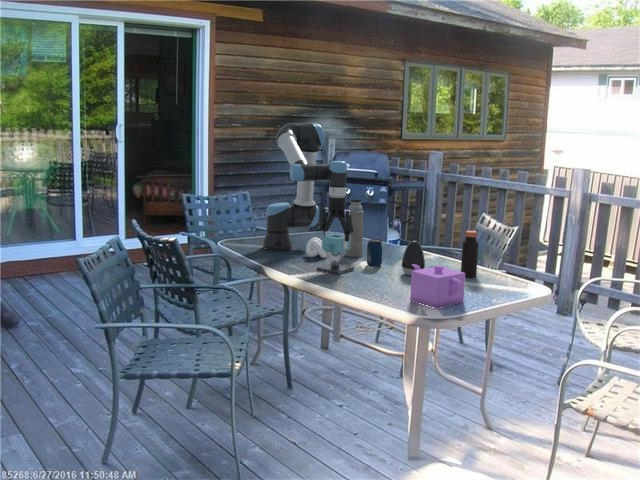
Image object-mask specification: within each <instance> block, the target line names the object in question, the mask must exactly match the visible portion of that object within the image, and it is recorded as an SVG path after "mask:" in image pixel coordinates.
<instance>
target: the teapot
mask: <svg viewBox="0 0 640 480" xmlns="http://www.w3.org/2000/svg"><path fill="white" fill-rule="evenodd" d="M412 266H413V267H414V268H415V271H412V276H410V277H411V281H410V298H409V300H411V301H410V302H412V301H414V302H413V303H415V302H417V303H416V304H418V303H421V304H424V305H428V306H431V307H434V308H440V307H444V308H446V307H445V306H448V307H450V306H449V305H452V306H455V305H454V304H456V305H460V304H464V299H465V298H464V296H465V285H466V283H465V282H466V277H465V273H464V272H461V270H460V271H459V270H455V269H451V268H447V267H445V266H443V265H440V264H435V265H433V266H432V267H428V268H424V269H421V268H420V267H419V266H418V265H415V264H412ZM459 303H460V304H459ZM421 304H420V305H421ZM424 305H423V306H424ZM440 309H441V308H440Z"/></svg>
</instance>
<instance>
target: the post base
mask: <svg viewBox="0 0 640 480" xmlns="http://www.w3.org/2000/svg"><path fill="white" fill-rule="evenodd" d="M330 259H331V260H330V262H329V263H327V264H324V265H320V266H316V271H317V270H318V271H317V272H321V271H323V272H322V273H326V272H328V273H327V274H331V273H332V275H336V274H337V275H338V276H340V275H343V274H346V273H350V272H353V271H354V270H355V267H354V266H351V265H345V264H341V252H333V251H332V252H330ZM339 274H340V275H339Z"/></svg>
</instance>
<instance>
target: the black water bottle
mask: <svg viewBox="0 0 640 480" xmlns="http://www.w3.org/2000/svg"><path fill="white" fill-rule="evenodd" d="M477 237H478V231H477V230H466V231H465V239H464V240H463V242H462V249H461V262H460V263H461V265H460V272H464V273H465V278H468V279H470V278H471V279H472V278H474V279H475V278H476V277H477V272H478V271H477V270H478V269H477V268H478V258H479V256H478V255H479V242H478V240H477Z"/></svg>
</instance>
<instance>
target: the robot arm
mask: <svg viewBox="0 0 640 480" xmlns="http://www.w3.org/2000/svg"><path fill="white" fill-rule="evenodd" d="M276 133H277V134H276V138H275V141H276V144H277V146H278V148H279V149H280V150H282V152H283V154H284V155H285V157H286V159H287V162H288V164H289V166H290V167H289V178H290V180H291V181H293V182H297V187H296V198H295V199H294V200H293V202H292V205H290V203H289V202H286V201H285V202H276V203H270V204H268V206H267V207H266V212H265V213H266V214H265V216H266V218H265V219H266V221H265V222H266V228H265V229H266V232H265V237H264V240H263V242H262V249H263V248H266V249H270V250H269V251H271V250H279V251H278V252H281V251H282V252H285V251H290V250H292V249H293V243H292V240H291V236H290V229H297V228H298V229H300V228H305V229H308V228H312V227H313V228H314V227H315V226H316V225H317V223H318V221H319V216H320V208H319V206H318V205H317V202H316V201H315V200H314V192H315V182H329V183H328V187H329V188H328V196H329V197H328V207H323V208H322V217H321V222H320V226H319V229H320V230H322V231H323V236H326V235H331V230H330V227H331V225H332V223H333V221H334V219H338V221H339V222H340V224H341V226H342V230H343V234H342V235H343V249H346V248H348V241H349V234H350V233H353V225H352V219H351V210H349V209H346V205H347V204H346V203H347V201H346V200H347V198H346V196H347V174H348V167H347V161H343V160H331V161H330V162H329V163H322V164H320V163H319V164H316V162H317V154H318V153H319V152H320V150H321V148H323V147H324V145H325V133H324V130H323V127H322V125H321V124H319V123H312V122H289V123H286V124H284V125H283V126H281V128H279V130H278V131H277V132H276ZM266 249H265V250H266ZM284 250H285V251H284Z"/></svg>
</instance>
